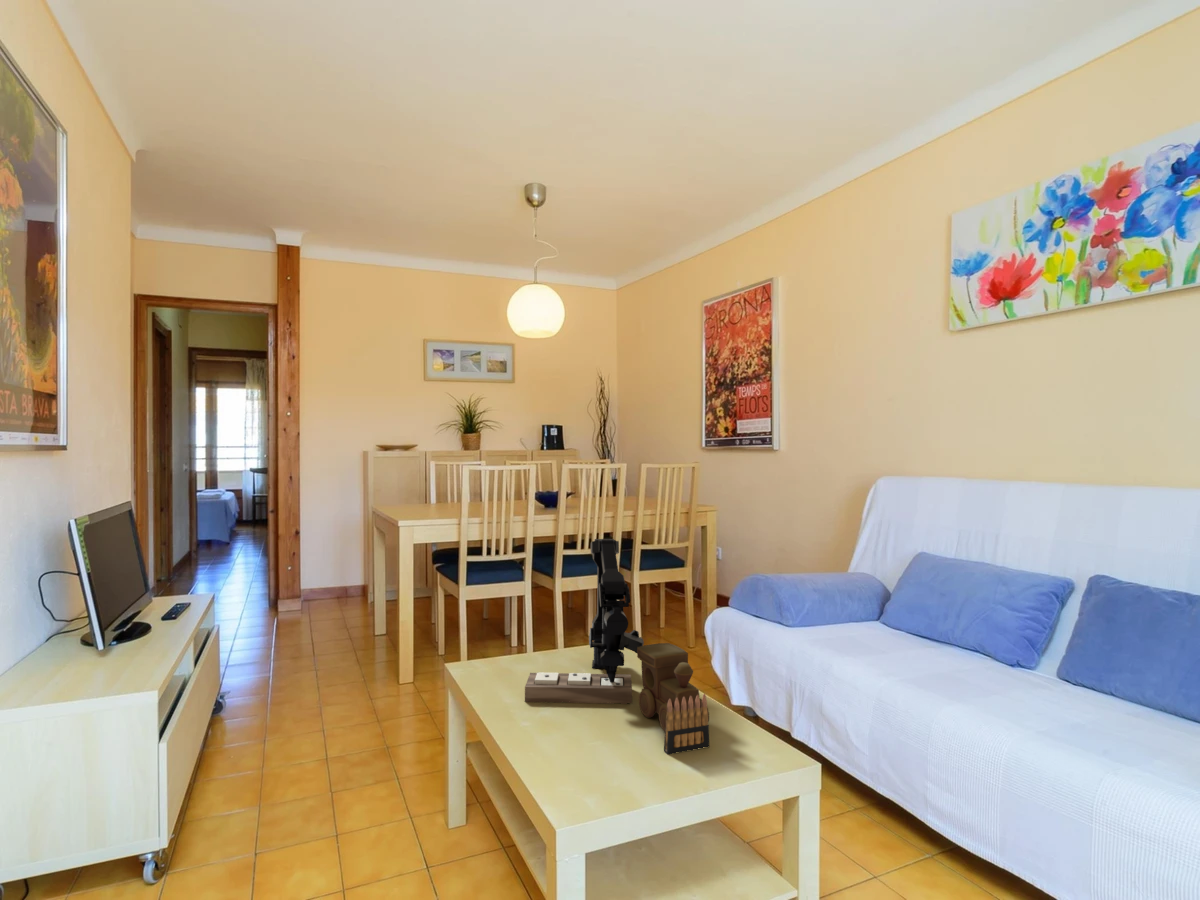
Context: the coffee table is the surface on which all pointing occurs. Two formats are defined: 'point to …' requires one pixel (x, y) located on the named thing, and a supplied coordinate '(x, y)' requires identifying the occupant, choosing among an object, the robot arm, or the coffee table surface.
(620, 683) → the three dot tile
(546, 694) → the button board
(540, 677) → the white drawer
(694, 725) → the ammunition clip
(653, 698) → the wooden toy train
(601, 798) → the coffee table surface
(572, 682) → the two dot tile
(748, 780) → the coffee table surface
